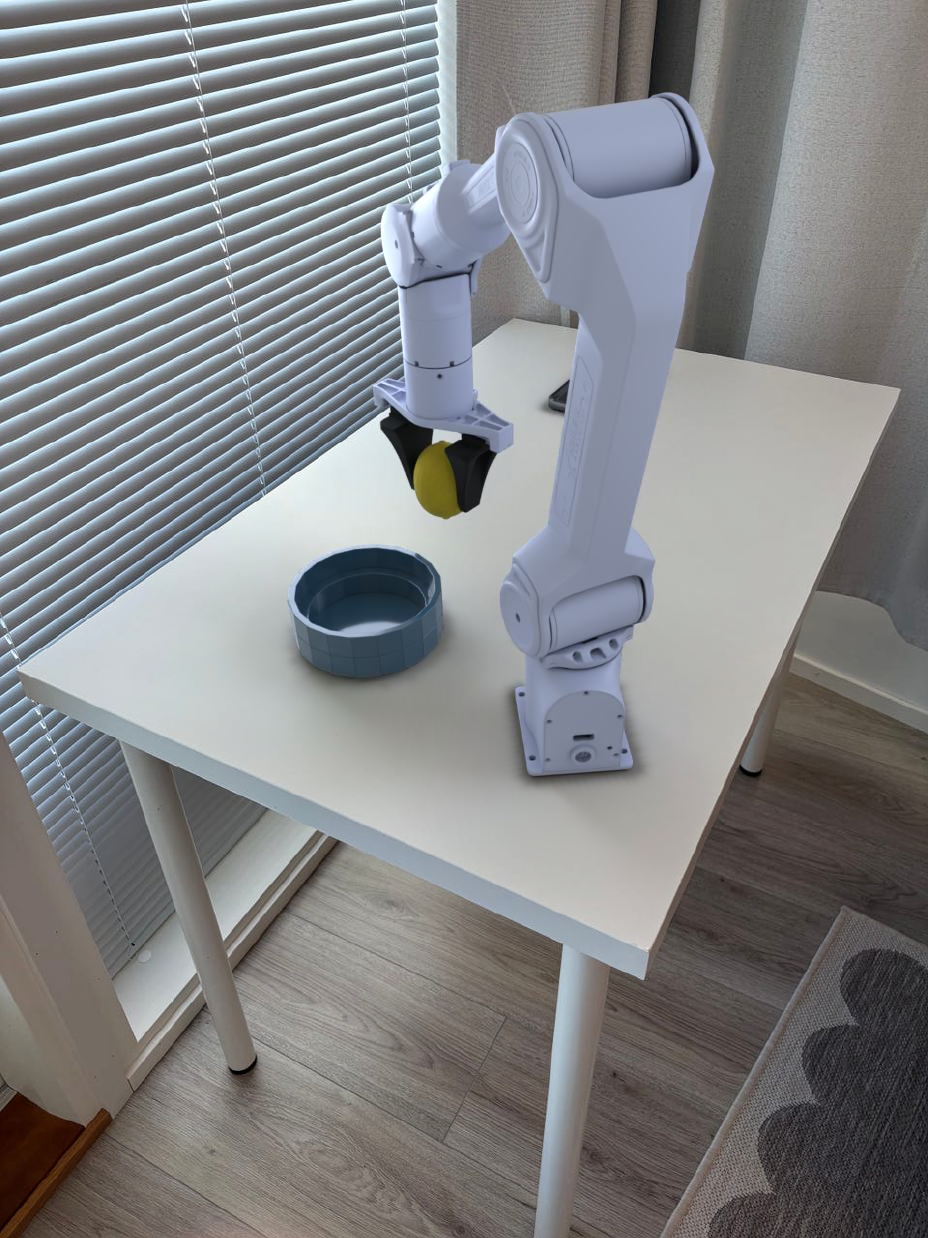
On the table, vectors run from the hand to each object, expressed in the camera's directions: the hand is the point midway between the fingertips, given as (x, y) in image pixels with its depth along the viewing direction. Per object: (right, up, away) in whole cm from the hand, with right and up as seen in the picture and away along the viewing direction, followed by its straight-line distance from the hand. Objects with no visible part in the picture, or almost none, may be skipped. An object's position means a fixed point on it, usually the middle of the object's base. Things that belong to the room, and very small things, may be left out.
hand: (445, 496), depth 87 cm
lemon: (0, -2, +2) cm, 3 cm away
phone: (+19, +18, +34) cm, 43 cm away
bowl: (-7, -12, -2) cm, 14 cm away
